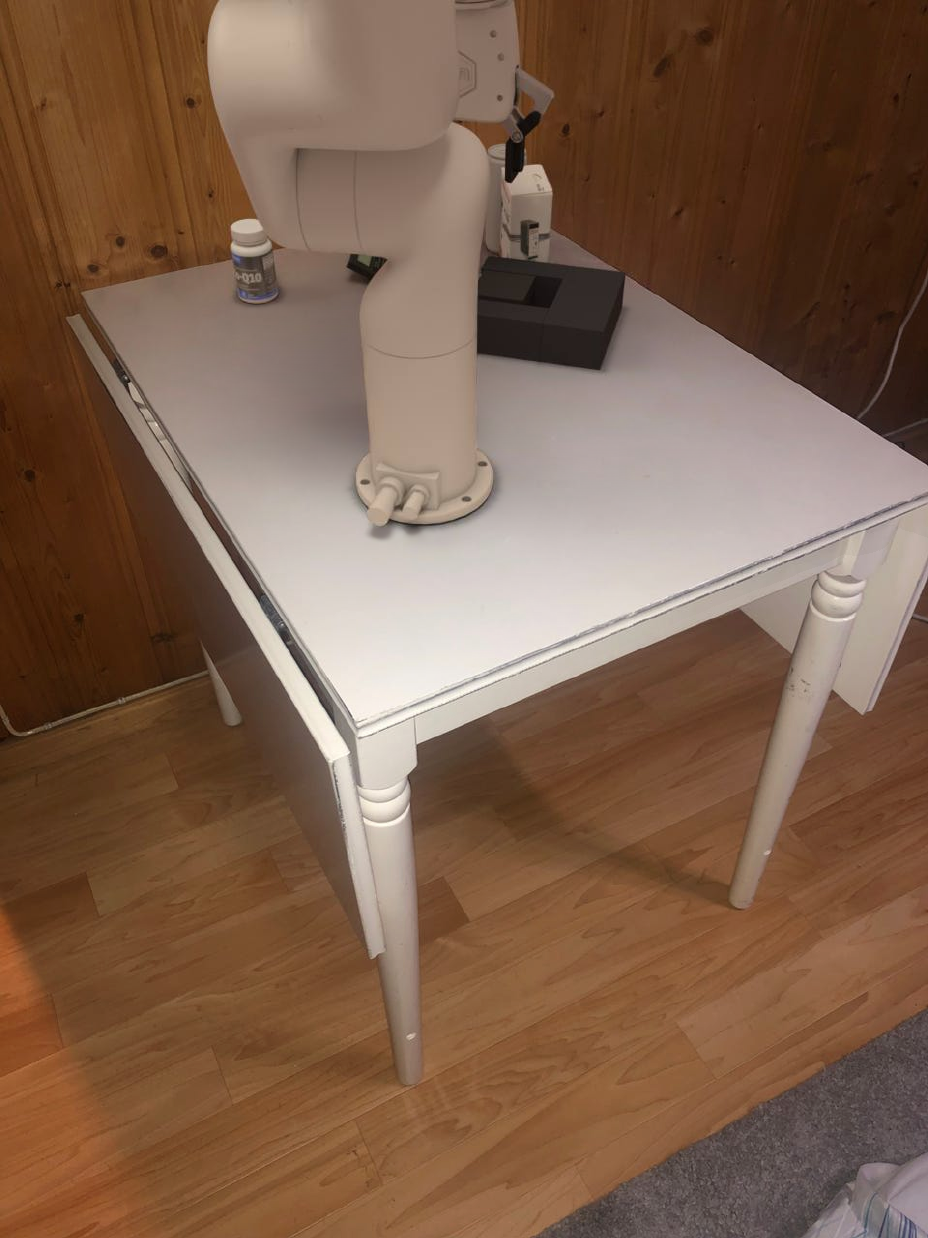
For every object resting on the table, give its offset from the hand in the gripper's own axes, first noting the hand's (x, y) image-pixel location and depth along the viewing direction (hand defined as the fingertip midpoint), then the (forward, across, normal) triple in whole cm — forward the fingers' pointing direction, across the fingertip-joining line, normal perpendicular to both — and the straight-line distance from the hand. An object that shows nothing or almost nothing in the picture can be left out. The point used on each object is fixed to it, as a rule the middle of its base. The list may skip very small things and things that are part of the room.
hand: (466, 172), depth 105 cm
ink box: (+16, +3, +12) cm, 21 cm away
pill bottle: (+16, -25, -2) cm, 30 cm away
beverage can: (+16, -1, +19) cm, 25 cm away
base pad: (+16, +9, 0) cm, 18 cm away
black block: (+16, +4, 0) cm, 17 cm away
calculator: (+16, -12, +10) cm, 22 cm away
